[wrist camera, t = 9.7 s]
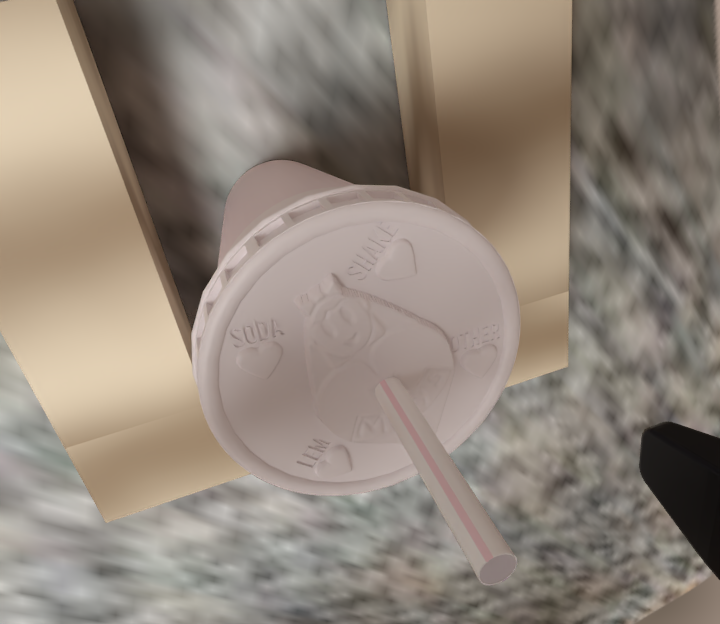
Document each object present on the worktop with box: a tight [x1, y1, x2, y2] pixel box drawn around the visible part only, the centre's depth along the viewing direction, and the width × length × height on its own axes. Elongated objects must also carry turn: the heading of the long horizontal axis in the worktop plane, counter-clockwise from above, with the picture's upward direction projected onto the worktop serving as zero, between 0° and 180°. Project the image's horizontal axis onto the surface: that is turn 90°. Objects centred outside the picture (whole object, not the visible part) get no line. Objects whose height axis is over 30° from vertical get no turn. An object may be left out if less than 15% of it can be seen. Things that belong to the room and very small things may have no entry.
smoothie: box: [191, 160, 520, 585], centre depth 13 cm, size 6×6×14 cm
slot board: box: [0, 0, 572, 523], centre depth 18 cm, size 14×17×3 cm
